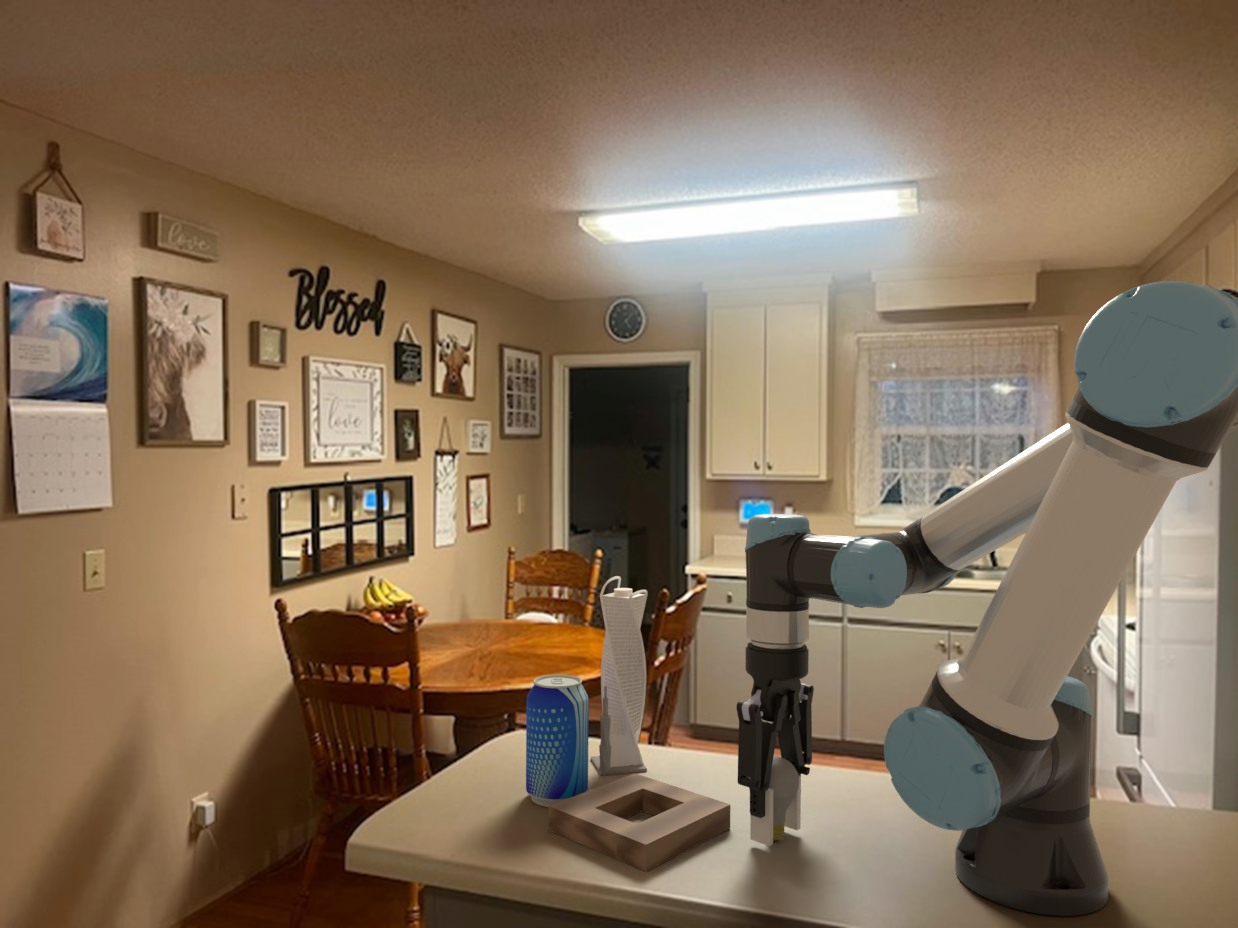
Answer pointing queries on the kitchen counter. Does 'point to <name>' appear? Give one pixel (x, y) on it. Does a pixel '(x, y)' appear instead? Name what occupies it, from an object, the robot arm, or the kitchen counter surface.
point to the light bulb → (782, 792)
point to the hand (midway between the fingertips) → (775, 833)
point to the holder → (648, 842)
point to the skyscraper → (622, 681)
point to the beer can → (556, 739)
